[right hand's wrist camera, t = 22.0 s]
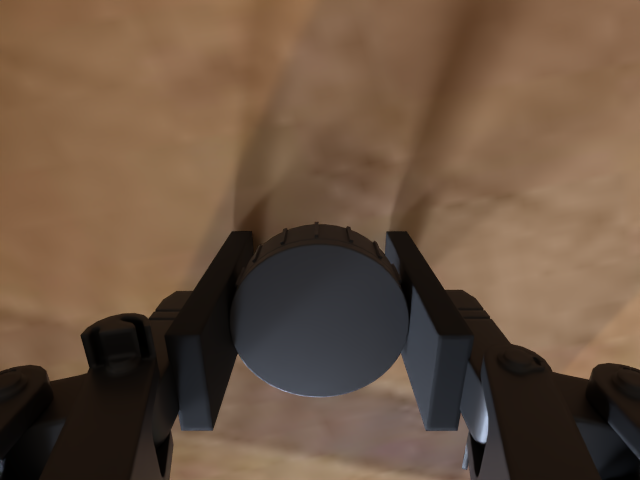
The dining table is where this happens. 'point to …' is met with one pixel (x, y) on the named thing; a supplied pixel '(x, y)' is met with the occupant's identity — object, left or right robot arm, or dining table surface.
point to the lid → (319, 311)
